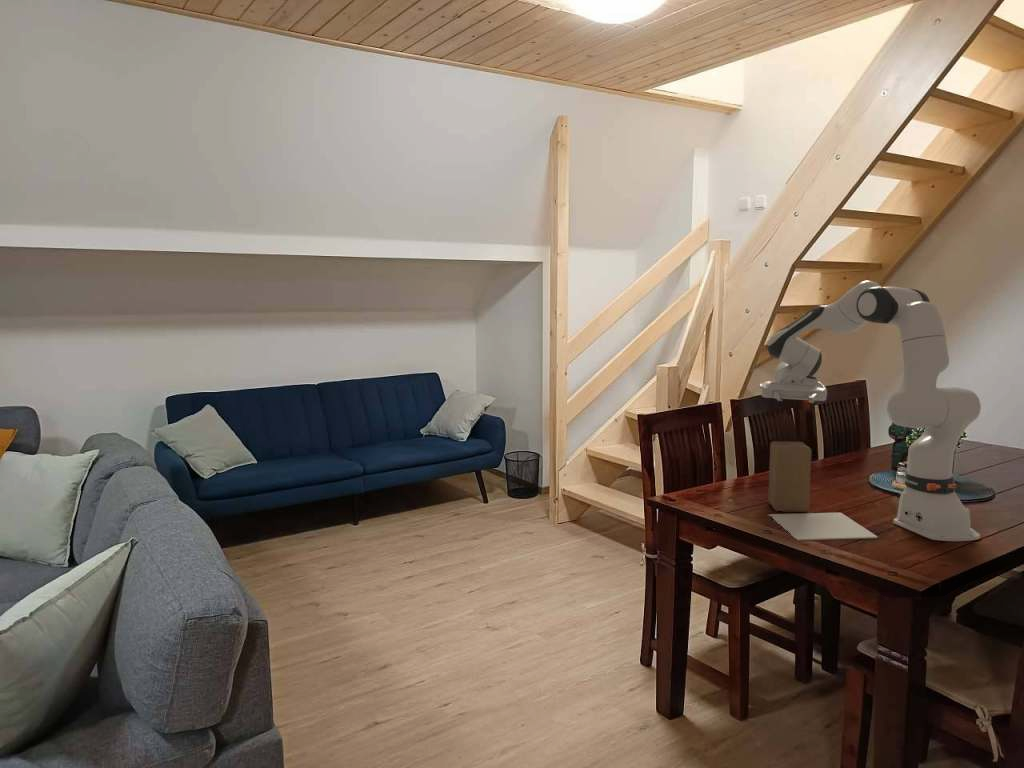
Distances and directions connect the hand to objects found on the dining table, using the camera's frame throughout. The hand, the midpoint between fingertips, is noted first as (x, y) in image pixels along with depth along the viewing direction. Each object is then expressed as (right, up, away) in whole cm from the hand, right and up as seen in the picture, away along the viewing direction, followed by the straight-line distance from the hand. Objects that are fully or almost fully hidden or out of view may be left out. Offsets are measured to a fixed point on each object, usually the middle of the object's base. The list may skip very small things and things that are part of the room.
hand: (796, 399), depth 235 cm
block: (-6, -33, -10) cm, 35 cm away
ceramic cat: (+55, -27, +30) cm, 68 cm away
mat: (-4, -36, -27) cm, 45 cm away
